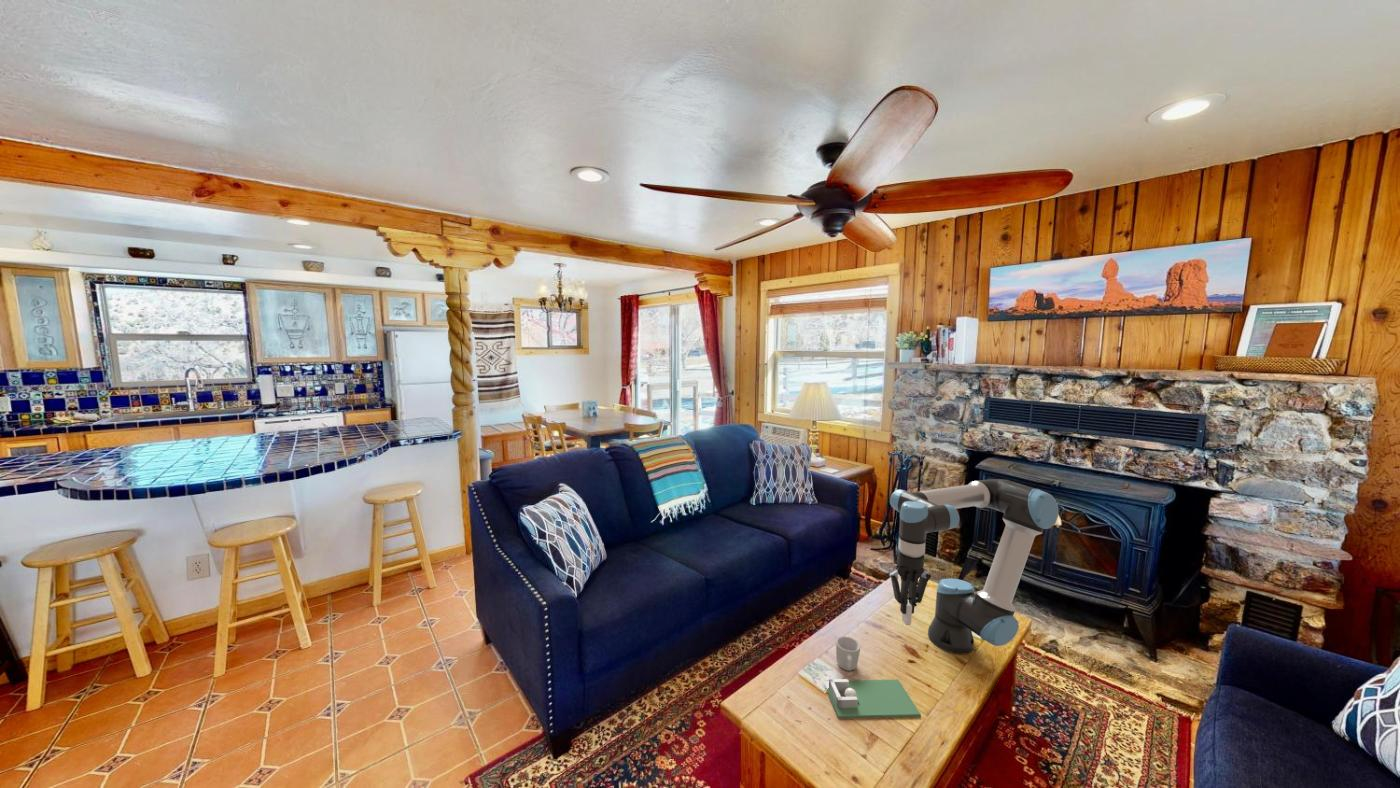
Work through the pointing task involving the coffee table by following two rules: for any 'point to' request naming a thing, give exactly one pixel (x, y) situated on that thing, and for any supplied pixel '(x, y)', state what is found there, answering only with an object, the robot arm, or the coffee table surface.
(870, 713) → the green mat
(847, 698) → the white u-shaped bracket
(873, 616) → the coffee table surface
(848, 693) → the ball
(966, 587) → the robot arm
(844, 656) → the cup
